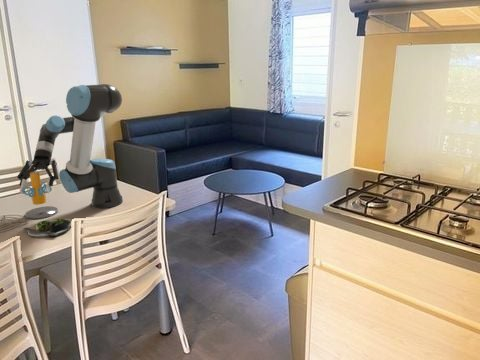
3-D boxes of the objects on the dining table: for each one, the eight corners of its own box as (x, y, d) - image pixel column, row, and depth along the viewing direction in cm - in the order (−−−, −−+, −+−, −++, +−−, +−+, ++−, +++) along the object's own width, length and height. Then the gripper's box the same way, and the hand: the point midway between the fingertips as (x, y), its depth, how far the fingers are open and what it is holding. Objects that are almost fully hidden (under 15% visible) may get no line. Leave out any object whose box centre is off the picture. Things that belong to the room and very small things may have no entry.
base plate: (64, 210, 189) (63, 208, 189) (40, 221, 177) (39, 219, 176) (43, 206, 194) (43, 204, 194) (18, 216, 182) (18, 214, 182)
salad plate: (14, 241, 158) (12, 230, 157) (33, 223, 175) (31, 214, 174) (63, 238, 159) (61, 228, 158) (77, 221, 176) (75, 212, 175)
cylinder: (40, 208, 178) (35, 177, 173) (21, 206, 180) (15, 176, 175) (57, 198, 189) (52, 169, 184) (39, 197, 191) (33, 168, 186)
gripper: (70, 155, 194) (63, 195, 183) (23, 156, 193) (12, 196, 183) (65, 147, 187) (56, 188, 177) (15, 148, 186) (4, 189, 176)
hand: (34, 192), depth 180 cm, fingers closed on cylinder, 11 cm apart
